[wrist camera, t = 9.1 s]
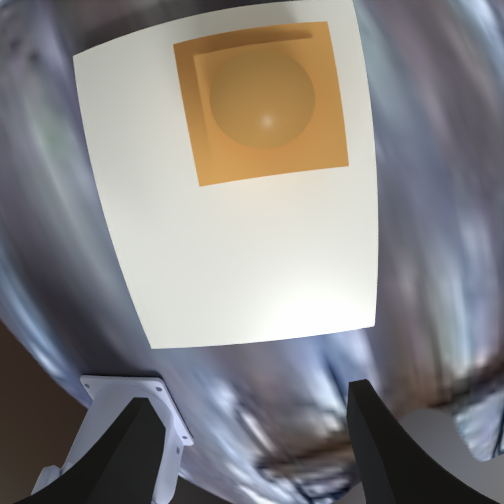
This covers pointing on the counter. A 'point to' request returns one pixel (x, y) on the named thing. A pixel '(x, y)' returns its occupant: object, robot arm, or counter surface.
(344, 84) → the white board
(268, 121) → the orange domed block
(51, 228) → the counter surface
